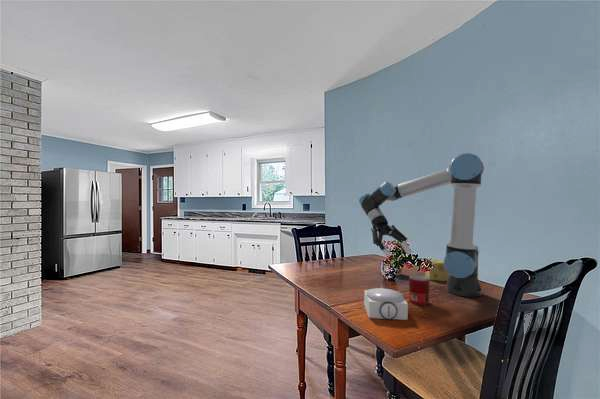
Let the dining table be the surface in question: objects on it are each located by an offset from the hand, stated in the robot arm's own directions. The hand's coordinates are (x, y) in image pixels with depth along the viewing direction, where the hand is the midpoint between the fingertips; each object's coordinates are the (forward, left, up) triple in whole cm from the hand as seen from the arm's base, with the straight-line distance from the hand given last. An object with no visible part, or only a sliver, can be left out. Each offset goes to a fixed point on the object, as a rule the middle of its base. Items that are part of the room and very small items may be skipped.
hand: (399, 254), depth 137 cm
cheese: (-28, -32, -19) cm, 47 cm away
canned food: (-6, +9, -19) cm, 22 cm away
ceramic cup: (-8, -38, -19) cm, 43 cm away
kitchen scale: (+11, +22, -19) cm, 31 cm away
